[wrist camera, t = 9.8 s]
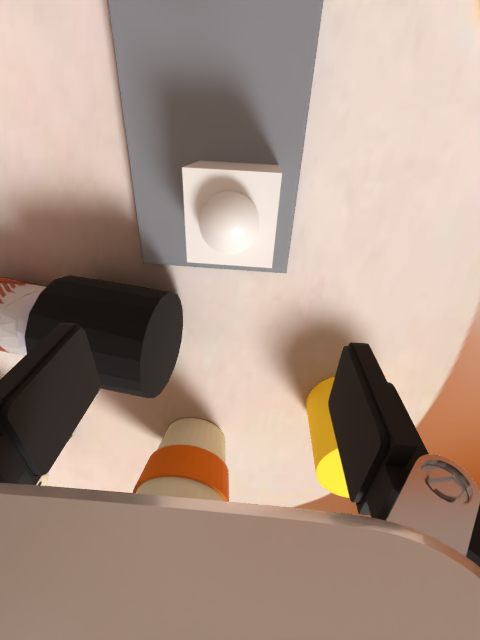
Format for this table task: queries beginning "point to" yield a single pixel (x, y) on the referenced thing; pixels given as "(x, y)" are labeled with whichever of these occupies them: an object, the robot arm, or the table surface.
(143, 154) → the plate
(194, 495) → the reusable coffee cup
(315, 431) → the yellow toilet paper roll
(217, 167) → the white push button box
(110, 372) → the black and white bottle
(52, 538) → the robot arm
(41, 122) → the table surface
